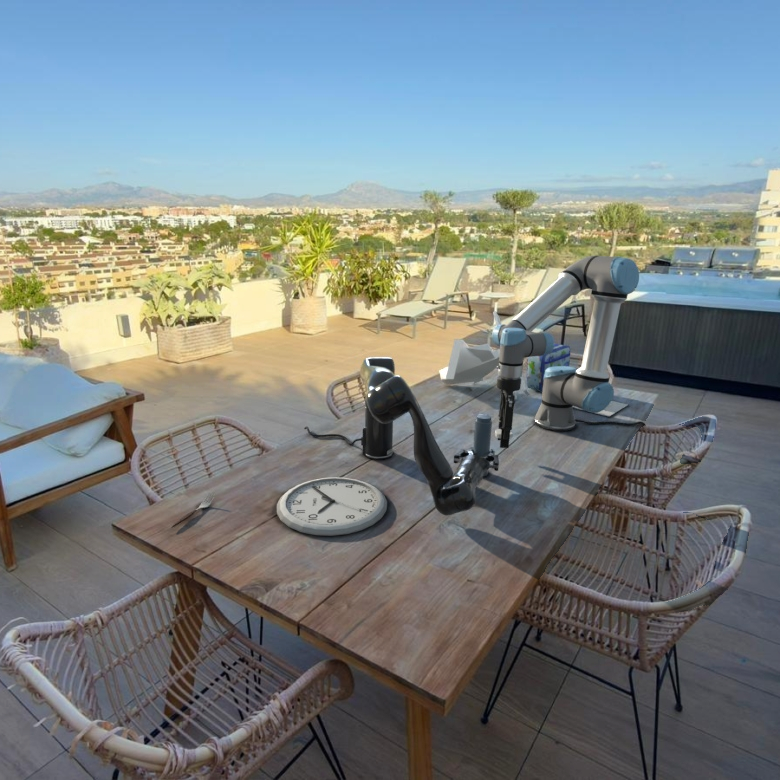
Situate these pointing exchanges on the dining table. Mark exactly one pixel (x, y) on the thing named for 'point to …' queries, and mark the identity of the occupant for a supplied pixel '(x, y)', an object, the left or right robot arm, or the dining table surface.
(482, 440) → the jar
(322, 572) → the dining table surface
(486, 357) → the white plastic object
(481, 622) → the dining table surface
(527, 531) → the dining table surface
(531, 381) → the lunch box
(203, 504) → the fork
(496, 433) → the lid
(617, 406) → the invitation card
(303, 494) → the wall clock
